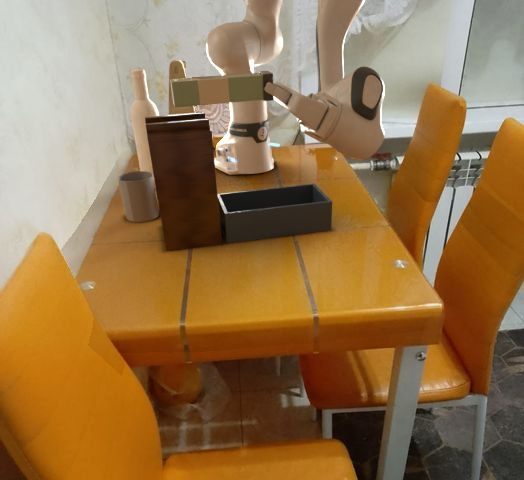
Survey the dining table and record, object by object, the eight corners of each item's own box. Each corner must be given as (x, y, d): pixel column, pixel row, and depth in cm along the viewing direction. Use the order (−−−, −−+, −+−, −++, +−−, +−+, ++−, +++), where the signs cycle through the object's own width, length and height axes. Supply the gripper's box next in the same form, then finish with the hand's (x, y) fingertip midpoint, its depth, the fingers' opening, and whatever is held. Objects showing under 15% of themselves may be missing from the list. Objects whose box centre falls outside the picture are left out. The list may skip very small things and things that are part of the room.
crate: (313, 210, 125) (314, 183, 121) (331, 230, 114) (332, 201, 110) (218, 221, 121) (216, 193, 117) (227, 243, 110) (224, 213, 106)
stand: (213, 221, 121) (202, 109, 106) (222, 244, 110) (211, 122, 95) (162, 227, 119) (144, 114, 104) (166, 250, 108) (145, 128, 93)
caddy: (186, 143, 184) (175, 50, 166) (214, 142, 184) (206, 49, 166) (172, 166, 161) (157, 61, 143) (204, 165, 160) (193, 59, 142)
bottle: (141, 182, 148) (120, 69, 130) (167, 179, 150) (150, 67, 132) (144, 190, 142) (123, 72, 124) (171, 187, 144) (154, 70, 126)
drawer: (268, 96, 103) (267, 70, 100) (273, 100, 99) (273, 73, 96) (173, 104, 100) (169, 77, 97) (175, 108, 96) (171, 81, 93)
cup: (147, 207, 131) (140, 169, 125) (165, 214, 126) (159, 175, 120) (120, 216, 126) (111, 177, 120) (137, 224, 121) (129, 184, 115)
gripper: (311, 92, 112) (258, 61, 106) (341, 109, 96) (281, 73, 90) (297, 120, 115) (245, 91, 109) (325, 140, 98) (265, 107, 93)
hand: (262, 83), depth 99 cm, fingers closed on drawer, 5 cm apart
